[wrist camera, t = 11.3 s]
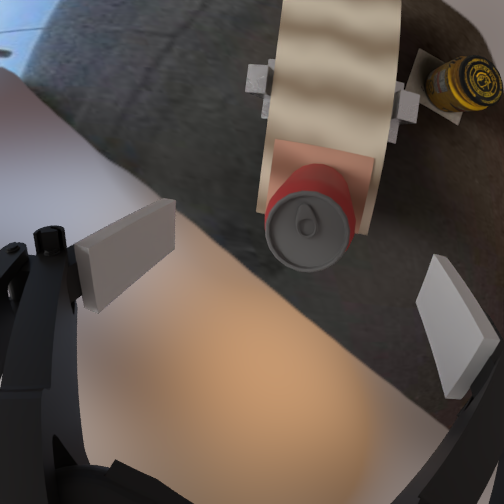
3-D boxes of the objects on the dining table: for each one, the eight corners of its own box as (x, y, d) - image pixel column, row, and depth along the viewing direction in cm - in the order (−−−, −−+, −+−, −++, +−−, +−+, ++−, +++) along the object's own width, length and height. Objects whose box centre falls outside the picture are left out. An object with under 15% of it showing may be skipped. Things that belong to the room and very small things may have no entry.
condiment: (457, 125, 31) (500, 127, 20) (402, 94, 31) (430, 81, 21) (472, 80, 27) (516, 68, 17) (418, 48, 28) (448, 21, 17)
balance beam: (289, -24, 23) (286, -32, 21) (399, -7, 21) (402, -14, 19) (259, 207, 35) (254, 212, 33) (366, 229, 32) (368, 236, 30)
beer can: (346, 160, 28) (354, 179, 17) (351, 224, 30) (359, 277, 20) (280, 165, 30) (249, 188, 19) (289, 228, 32) (264, 281, 22)
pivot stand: (270, 60, 34) (251, 42, 25) (402, 84, 31) (422, 71, 22) (263, 118, 37) (242, 115, 29) (393, 143, 34) (412, 147, 25)
